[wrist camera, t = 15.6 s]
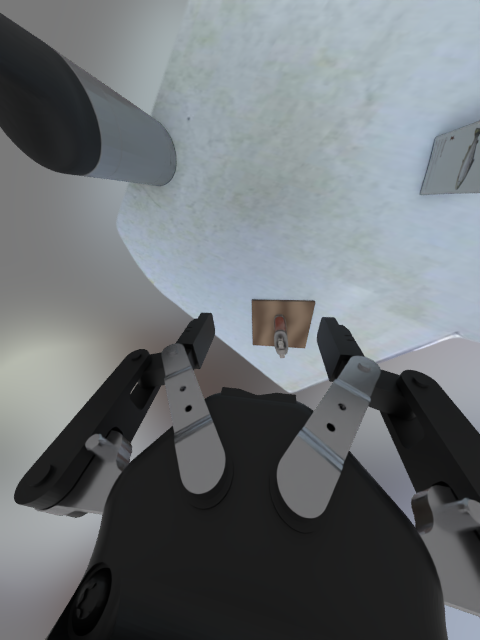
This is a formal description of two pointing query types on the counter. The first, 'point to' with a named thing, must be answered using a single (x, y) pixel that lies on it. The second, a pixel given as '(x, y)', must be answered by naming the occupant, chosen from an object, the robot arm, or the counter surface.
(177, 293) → the counter surface
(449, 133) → the supplement box
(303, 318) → the board
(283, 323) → the lighter
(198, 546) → the robot arm
